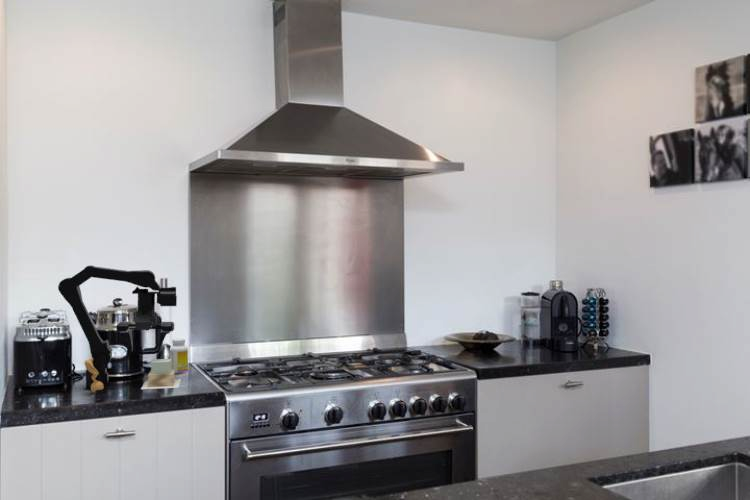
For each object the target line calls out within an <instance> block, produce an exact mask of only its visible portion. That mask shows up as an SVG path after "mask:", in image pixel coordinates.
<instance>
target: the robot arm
mask: <svg viewBox="0 0 750 500" xmlns="http://www.w3.org/2000/svg"><path fill="white" fill-rule="evenodd" d="M91 278H94V279H102V280H103V279H104V280H110V281H119V282H126V283H129V284H132V285H134V286H136V287H135V289H134V290H133V291H131V293H132V294H134V295H135V294H136V295H137V310H136V311H137V314H136V317H135V321H134V323H132V322H131V321H119V322H118V323H117V324H116V327H115V328H116V331H115V332H119V333H120V335H123V336H124V337H125V339H126V342H127V344H128V346H129V350H130V352H134V351H133V349H134V342H133V330H135V331H150V330H160V332H159V339H158V340H159V341H158V347H157V348H158V349H157V350H158V352H160V351H161V349H162V346H163V343H164V341H165V338H166V336H167V335H169V334H170V333H171V332H173V331H174V330H175V322H174V321H161V323H157V322H158V321H157V320H158V319H157V315H155V312H156V311H155V310H156V309H155V306H156V304H158V305H159V307H177V304H178V303H177V301H178V300H177V299H178V297H177V287H176V286H171V287H162V286H160V284H159V283H158V282H157V281H156V275H155V273H154V272H153V271H152V270H149V269H147V270H146V269H143V270H142V269H141V270H124V269H115V268H111V267H110V268H108V267H100V266H94V265H87V266H85V267H84V268H83V269H82V270H80V271H79V272H78V273H76V274H75V275H73V276H71V277H67V278H63V279H62V280H60V281H59V282H58V285H57V289H58V291H59V293H60V295H61V296H62V297H63V299H64V300H65V301H66V302H67V303H68V305H70V307H71V308H72V311H73V313H74V316H75V317H76V319H77V321H78V324H79V325H80V327H81V329H82V332H83V334H84V336H85V338H86V339H87V342H88V344H89V350H90V355H91V358H93V361H92V363H93V366H94V368H95V369H96V370H97V371H98V373H99V374H98V375H97V377H96V378H95V380H97V381H100V382H102V383H103V385H106V384H108V383H109V372H107V369H108V368H107V367H106V365H108V364H109V363H110V361H111V360H112V357H113V350H114V349H113V348H112V346H110V342H109V339H106V340H103V339H102V338H101V336H100V334H99V332H98V330H97V327H96V325H95V324H94V322H93V319H92V317H91V315H90V314H89V312H88V309H87V307H86V305H85V303H84V301H83V296H82V291H81V288H80V287H81V285H83V284H84V283H86V282H87V281H88V280H89V279H91ZM140 287H142V288H140ZM148 288H149V289H150V290H152V291H149V289H148ZM85 368H86V370H85V386H84V390H91V385H92V383H94V381H93V380H92V375H93V374H92V373H90V371H89V370H87V367H86V366H85ZM93 370H94V369H93ZM94 371H95V370H94ZM96 373H97V372H96ZM93 379H94V378H93Z"/></svg>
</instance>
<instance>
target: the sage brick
mask: <svg viewBox="0 0 750 500" xmlns="http://www.w3.org/2000/svg"><path fill="white" fill-rule="evenodd" d="M150 366H151V368H150V371H151V374H170V373H171V371H172V359H170V358H162V359H161V358H156V359H155V358H154V359H152V361H151V365H150Z"/></svg>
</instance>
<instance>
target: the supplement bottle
mask: <svg viewBox="0 0 750 500" xmlns="http://www.w3.org/2000/svg"><path fill="white" fill-rule="evenodd" d="M171 341H172V342H171V343H172V345H171V346H170V348H169V359H172V370H175V374H177V373H188V372H189V348H188V346H187V345H186V344H185V343H186V339H185V338H174V339H172V340H171Z"/></svg>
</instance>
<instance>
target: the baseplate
mask: <svg viewBox="0 0 750 500" xmlns="http://www.w3.org/2000/svg"><path fill="white" fill-rule="evenodd" d="M181 382H182V379H181V378H177V379H176V378H175V382H174V384H173V386H160V387H148V380H145V381H144V383H143V385H142V386H141V388H140V390H152V389H153V390H157V389H178V388H179V387H180V384H181Z"/></svg>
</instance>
